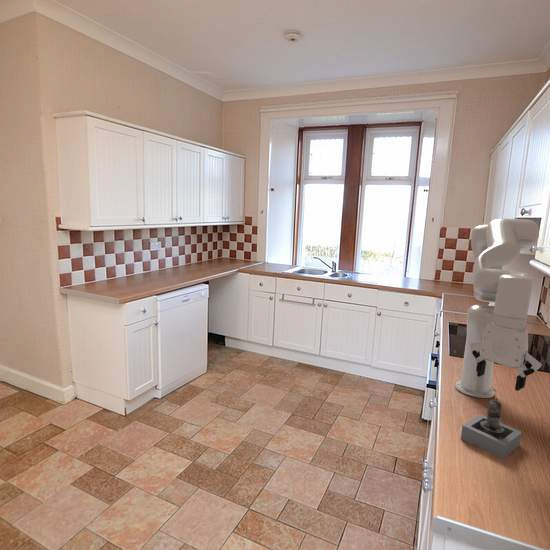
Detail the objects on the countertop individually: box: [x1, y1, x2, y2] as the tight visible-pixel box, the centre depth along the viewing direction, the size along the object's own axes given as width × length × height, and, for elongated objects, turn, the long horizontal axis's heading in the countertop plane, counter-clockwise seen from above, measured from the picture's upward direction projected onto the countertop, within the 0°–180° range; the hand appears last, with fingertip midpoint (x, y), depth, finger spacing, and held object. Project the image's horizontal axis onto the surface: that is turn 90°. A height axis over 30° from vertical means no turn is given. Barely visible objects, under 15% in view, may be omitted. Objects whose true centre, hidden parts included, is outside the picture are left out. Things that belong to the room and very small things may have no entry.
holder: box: [460, 414, 523, 460], centre depth 105 cm, size 11×11×4 cm
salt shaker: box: [480, 397, 504, 440], centre depth 104 cm, size 6×6×12 cm
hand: (498, 382), depth 103 cm, fingers open, 9 cm apart
